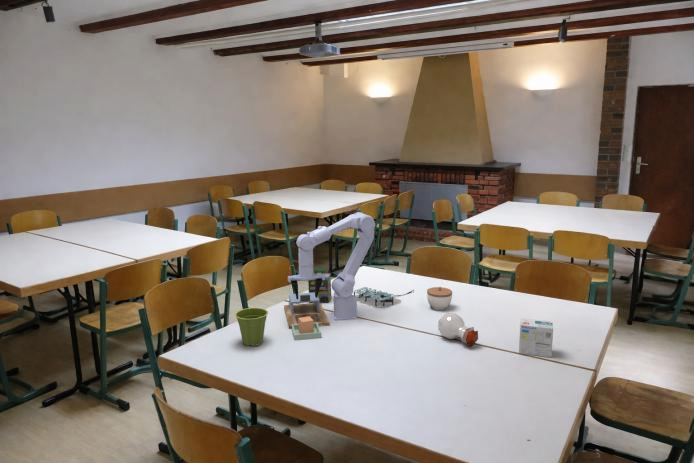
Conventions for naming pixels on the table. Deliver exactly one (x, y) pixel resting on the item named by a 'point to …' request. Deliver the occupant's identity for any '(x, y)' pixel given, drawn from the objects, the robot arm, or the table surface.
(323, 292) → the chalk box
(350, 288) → the robot arm
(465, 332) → the potion bottle
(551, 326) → the light bulb box
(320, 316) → the board
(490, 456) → the table surface
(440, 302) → the lidded jar
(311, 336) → the tray
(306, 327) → the block
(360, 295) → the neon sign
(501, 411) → the table surface
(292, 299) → the cover
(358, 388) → the table surface
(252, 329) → the plant pot
